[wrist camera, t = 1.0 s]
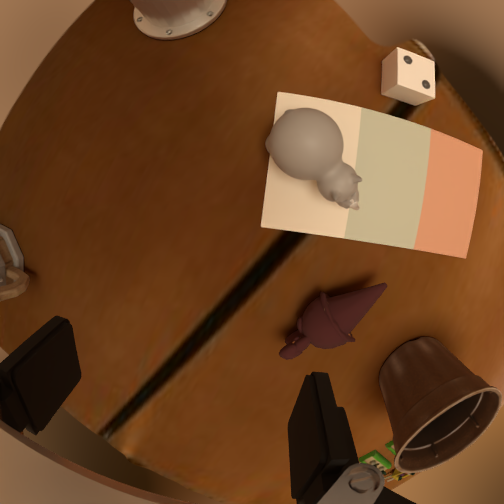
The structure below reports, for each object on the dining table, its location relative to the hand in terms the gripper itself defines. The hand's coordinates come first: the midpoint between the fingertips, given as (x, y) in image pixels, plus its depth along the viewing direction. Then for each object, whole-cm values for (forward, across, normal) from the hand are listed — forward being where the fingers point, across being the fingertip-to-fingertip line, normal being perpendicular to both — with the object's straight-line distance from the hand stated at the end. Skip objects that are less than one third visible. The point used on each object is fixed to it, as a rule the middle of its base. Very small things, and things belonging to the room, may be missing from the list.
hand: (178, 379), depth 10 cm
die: (+26, -17, -23) cm, 38 cm away
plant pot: (+25, -30, +17) cm, 43 cm away
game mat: (+25, -17, -10) cm, 32 cm away
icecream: (+25, -13, +8) cm, 29 cm away
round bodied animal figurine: (+25, -7, -9) cm, 28 cm away
